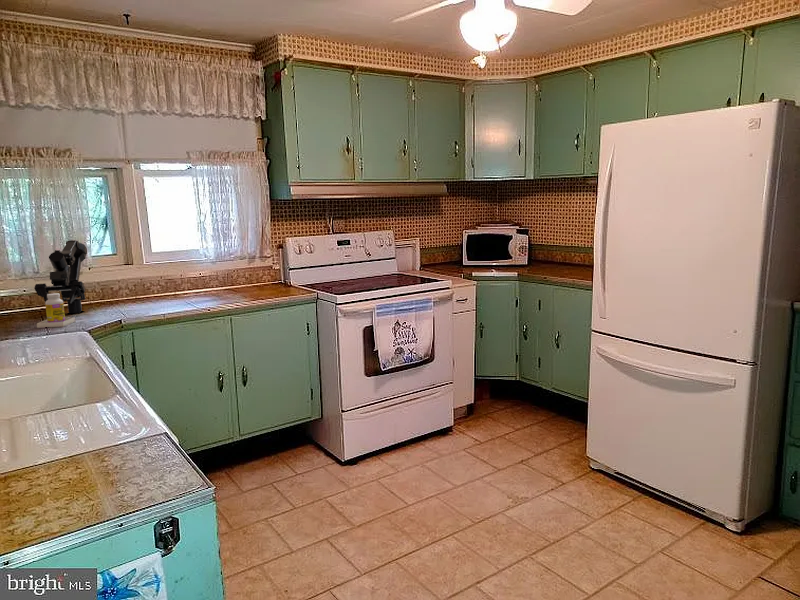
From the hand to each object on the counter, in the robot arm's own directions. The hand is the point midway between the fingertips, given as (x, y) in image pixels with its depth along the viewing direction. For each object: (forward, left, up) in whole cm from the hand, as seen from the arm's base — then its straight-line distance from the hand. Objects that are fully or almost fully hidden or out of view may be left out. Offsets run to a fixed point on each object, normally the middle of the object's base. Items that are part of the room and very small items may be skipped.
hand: (58, 303), depth 249 cm
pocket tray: (+6, +1, -8) cm, 10 cm away
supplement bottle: (+5, +1, -8) cm, 10 cm away
